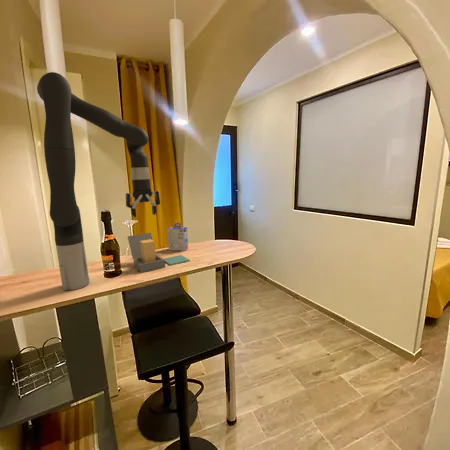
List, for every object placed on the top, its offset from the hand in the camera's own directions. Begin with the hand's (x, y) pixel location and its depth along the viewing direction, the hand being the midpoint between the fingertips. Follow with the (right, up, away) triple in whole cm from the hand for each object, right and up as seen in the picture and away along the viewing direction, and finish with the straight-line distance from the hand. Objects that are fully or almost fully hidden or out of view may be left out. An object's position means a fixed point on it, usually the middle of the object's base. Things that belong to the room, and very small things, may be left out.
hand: (144, 215), depth 120 cm
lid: (-4, -14, +10) cm, 17 cm away
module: (+1, -23, +5) cm, 24 cm away
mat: (+12, -21, +12) cm, 27 cm away
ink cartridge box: (+10, -18, +30) cm, 37 cm away
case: (+1, -23, +5) cm, 24 cm away
